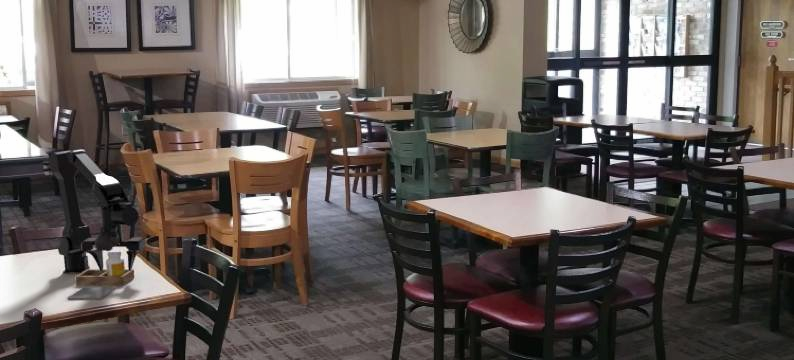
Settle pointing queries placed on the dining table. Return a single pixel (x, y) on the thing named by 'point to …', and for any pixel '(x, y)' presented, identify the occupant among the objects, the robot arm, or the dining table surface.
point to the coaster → (92, 293)
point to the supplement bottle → (115, 264)
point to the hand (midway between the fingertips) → (115, 270)
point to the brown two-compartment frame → (103, 277)
